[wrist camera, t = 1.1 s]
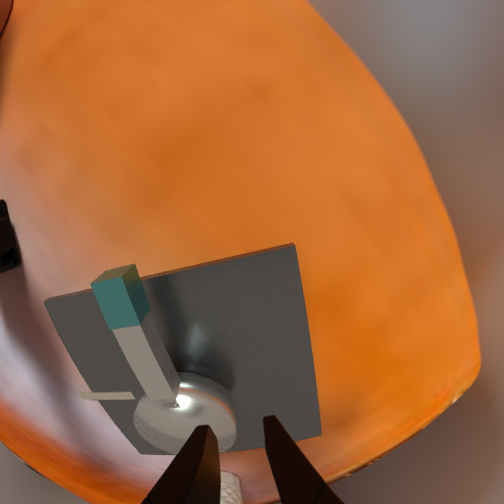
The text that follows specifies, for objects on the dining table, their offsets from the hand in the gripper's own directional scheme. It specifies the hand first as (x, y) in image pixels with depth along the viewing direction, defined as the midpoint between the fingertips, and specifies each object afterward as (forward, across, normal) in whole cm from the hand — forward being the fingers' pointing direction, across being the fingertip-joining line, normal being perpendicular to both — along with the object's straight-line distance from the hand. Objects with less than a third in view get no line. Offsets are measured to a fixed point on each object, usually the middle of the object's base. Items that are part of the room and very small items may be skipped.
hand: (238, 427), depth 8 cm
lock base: (+13, +6, +9) cm, 17 cm away
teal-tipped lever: (+10, +7, +4) cm, 13 cm away
